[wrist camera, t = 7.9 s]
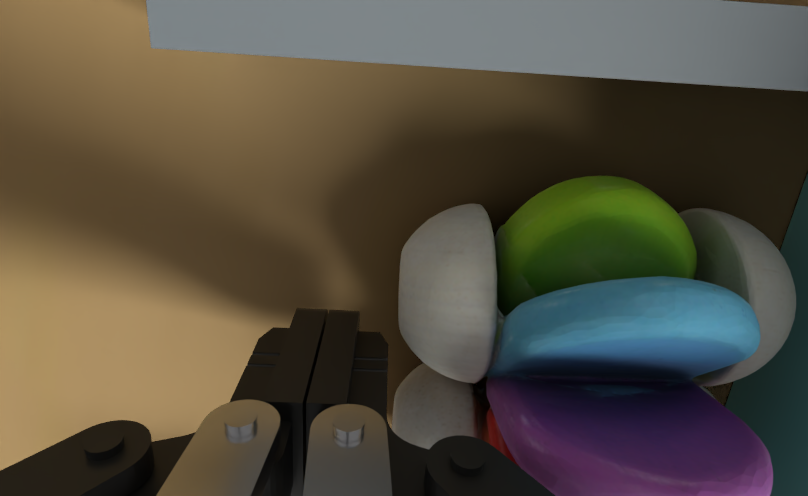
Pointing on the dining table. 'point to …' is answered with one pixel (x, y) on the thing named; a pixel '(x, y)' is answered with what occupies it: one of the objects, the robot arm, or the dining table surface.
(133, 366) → the dining table surface
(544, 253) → the white-wheeled rainbow disc toy
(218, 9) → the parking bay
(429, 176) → the dining table surface
